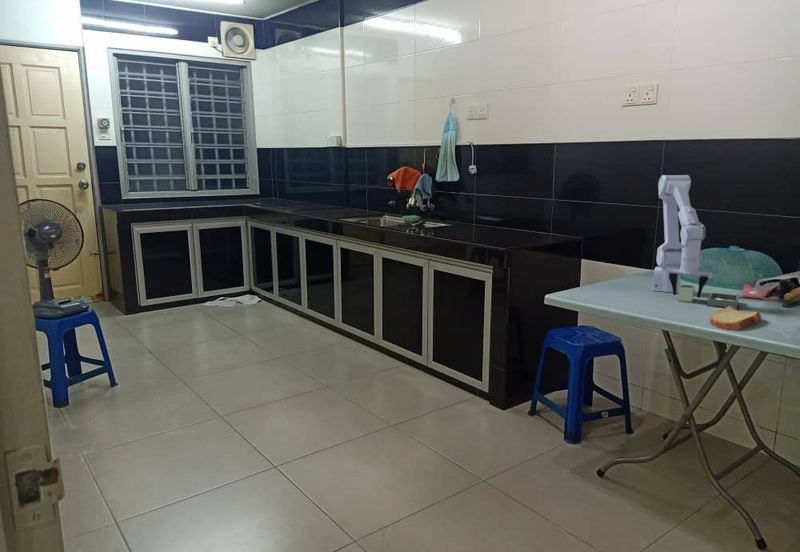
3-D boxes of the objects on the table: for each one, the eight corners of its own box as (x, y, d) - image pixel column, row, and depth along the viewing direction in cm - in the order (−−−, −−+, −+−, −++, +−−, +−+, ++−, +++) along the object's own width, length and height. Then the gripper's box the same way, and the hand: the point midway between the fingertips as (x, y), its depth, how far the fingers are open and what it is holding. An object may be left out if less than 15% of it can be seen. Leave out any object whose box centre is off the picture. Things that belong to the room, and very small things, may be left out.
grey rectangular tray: (706, 305, 192) (707, 298, 192) (710, 299, 201) (710, 292, 201) (736, 309, 187) (737, 302, 187) (738, 302, 197) (739, 295, 196)
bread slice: (721, 331, 164) (723, 319, 164) (693, 315, 182) (694, 304, 181) (784, 332, 163) (786, 319, 163) (749, 315, 181) (750, 304, 180)
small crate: (677, 301, 199) (679, 287, 198) (680, 297, 205) (682, 283, 204) (691, 302, 197) (693, 288, 196) (694, 298, 202) (695, 285, 201)
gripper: (666, 258, 198) (662, 295, 201) (712, 262, 190) (708, 300, 193) (669, 255, 204) (665, 291, 207) (714, 259, 196) (710, 296, 199)
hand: (686, 295), depth 200 cm, fingers open, 7 cm apart
